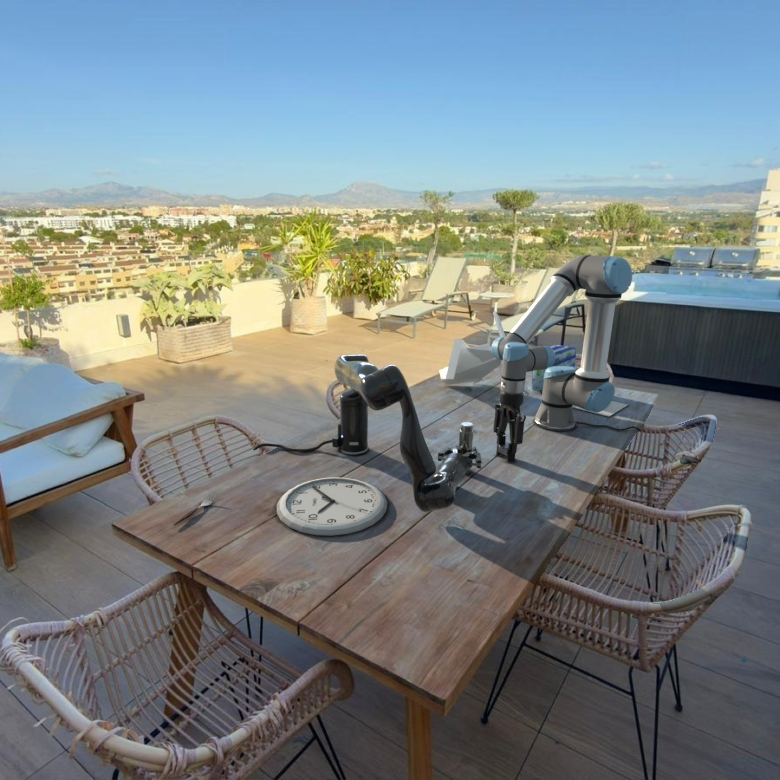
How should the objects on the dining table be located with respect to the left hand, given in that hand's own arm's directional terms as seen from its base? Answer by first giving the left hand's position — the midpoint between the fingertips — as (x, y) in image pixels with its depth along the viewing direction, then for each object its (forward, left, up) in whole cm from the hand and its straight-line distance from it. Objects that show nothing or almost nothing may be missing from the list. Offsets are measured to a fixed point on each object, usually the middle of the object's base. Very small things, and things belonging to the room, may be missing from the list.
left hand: (467, 448), depth 165 cm
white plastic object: (-14, +81, -7) cm, 82 cm away
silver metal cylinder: (0, -3, -7) cm, 7 cm away
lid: (+10, +12, -2) cm, 16 cm away
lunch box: (+16, +100, -7) cm, 101 cm away
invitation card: (+39, +83, -7) cm, 92 cm away
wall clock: (-27, -38, -7) cm, 48 cm away
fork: (-59, -56, -7) cm, 82 cm away
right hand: (+10, +12, -6) cm, 17 cm away
